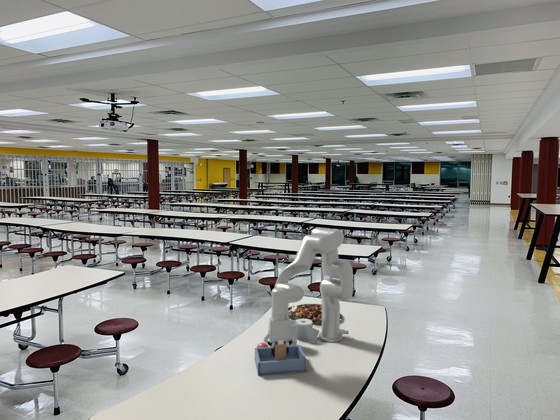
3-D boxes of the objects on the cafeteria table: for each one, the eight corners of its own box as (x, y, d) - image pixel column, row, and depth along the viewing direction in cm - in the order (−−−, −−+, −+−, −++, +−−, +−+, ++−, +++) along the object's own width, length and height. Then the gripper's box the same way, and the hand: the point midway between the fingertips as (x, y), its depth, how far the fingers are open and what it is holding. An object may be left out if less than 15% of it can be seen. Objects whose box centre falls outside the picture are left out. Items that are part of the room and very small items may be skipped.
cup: (296, 349, 191) (297, 326, 191) (281, 348, 193) (281, 324, 192) (299, 343, 199) (299, 320, 198) (284, 342, 201) (284, 319, 200)
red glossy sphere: (268, 352, 189) (268, 340, 188) (269, 357, 183) (269, 345, 182) (255, 353, 188) (255, 340, 187) (257, 358, 182) (257, 346, 182)
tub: (299, 356, 184) (299, 345, 184) (306, 371, 169) (306, 359, 169) (254, 359, 181) (254, 348, 181) (258, 375, 166) (258, 363, 166)
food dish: (278, 325, 228) (278, 312, 228) (293, 308, 260) (292, 297, 260) (338, 329, 218) (338, 315, 218) (345, 311, 250) (345, 299, 250)
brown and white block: (286, 360, 173) (286, 340, 172) (275, 361, 172) (275, 340, 171) (284, 355, 178) (284, 335, 177) (273, 356, 177) (273, 336, 176)
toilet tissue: (318, 342, 201) (319, 325, 200) (293, 340, 203) (293, 324, 203) (320, 335, 210) (320, 319, 209) (295, 333, 212) (295, 318, 212)
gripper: (297, 311, 179) (296, 350, 180) (260, 313, 176) (260, 352, 177) (300, 317, 171) (300, 357, 172) (261, 319, 168) (261, 360, 170)
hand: (279, 354), depth 175 cm, fingers closed on brown and white block, 5 cm apart
